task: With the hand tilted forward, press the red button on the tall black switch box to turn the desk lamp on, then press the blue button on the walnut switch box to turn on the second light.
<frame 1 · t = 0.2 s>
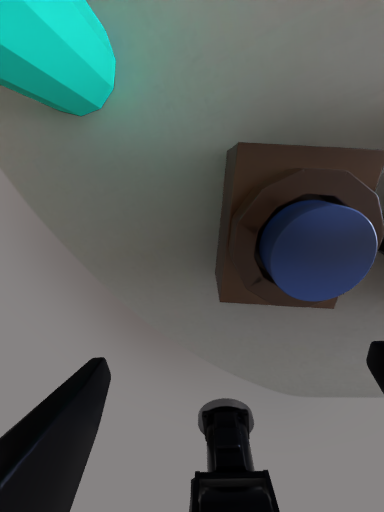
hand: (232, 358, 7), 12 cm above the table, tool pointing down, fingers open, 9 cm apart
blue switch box: (269, 220, 17), on the table
candle: (72, 64, 14), on the table
blue button: (311, 250, 11), point 7 cm above the table, slide at 0.1 cm
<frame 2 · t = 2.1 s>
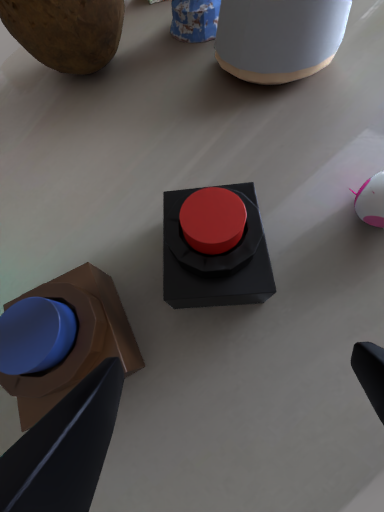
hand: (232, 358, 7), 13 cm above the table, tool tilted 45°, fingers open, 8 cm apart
switch box: (213, 255, 23), on the table
bowl: (90, 68, 41), on the table
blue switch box: (90, 337, 21), on the table
desk lamp: (270, 63, 36), on the table
lantern: (200, 27, 43), on the table
stress ball: (370, 210, 24), on the table
light button: (212, 220, 17), point 7 cm above the table, slide at 0.1 cm
blue button: (36, 333, 15), point 7 cm above the table, slide at 0.1 cm
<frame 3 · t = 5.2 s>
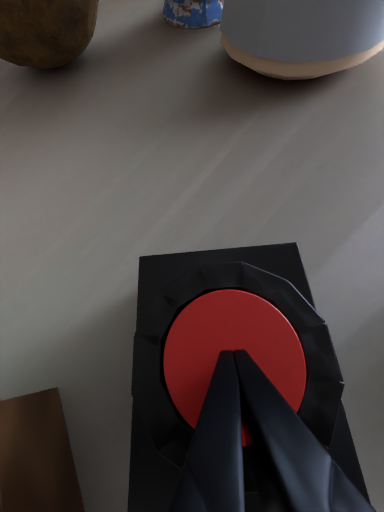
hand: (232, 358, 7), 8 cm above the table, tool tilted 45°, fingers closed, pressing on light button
switch box: (224, 352, 14), on the table
bowl: (60, 61, 32), on the table
desk lamp: (293, 51, 27), on the table
lantern: (200, 10, 34), on the table
light button: (230, 356, 9), point 6 cm above the table, slide at -0.8 cm, touching gripper
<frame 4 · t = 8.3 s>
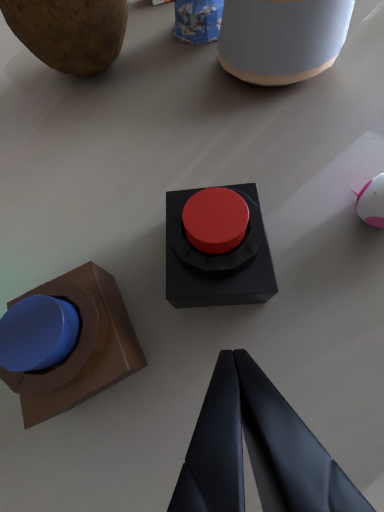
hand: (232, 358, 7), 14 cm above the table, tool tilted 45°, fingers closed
switch box: (215, 255, 24), on the table
bowl: (93, 69, 41), on the table
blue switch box: (92, 336, 21), on the table
desk lamp: (272, 64, 36), on the table
lantern: (203, 28, 43), on the table
stress ball: (372, 211, 24), on the table
light button: (215, 220, 17), point 7 cm above the table, slide at 0.1 cm
blue button: (39, 331, 15), point 7 cm above the table, slide at 0.1 cm
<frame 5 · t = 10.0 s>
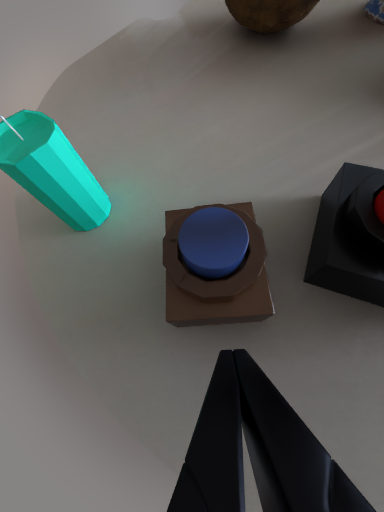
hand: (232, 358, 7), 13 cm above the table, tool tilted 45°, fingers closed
switch box: (360, 247, 22), on the table
bowl: (266, 29, 40), on the table
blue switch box: (213, 273, 22), on the table
candle: (89, 211, 27), on the table
blue button: (212, 242, 15), point 7 cm above the table, slide at 0.1 cm
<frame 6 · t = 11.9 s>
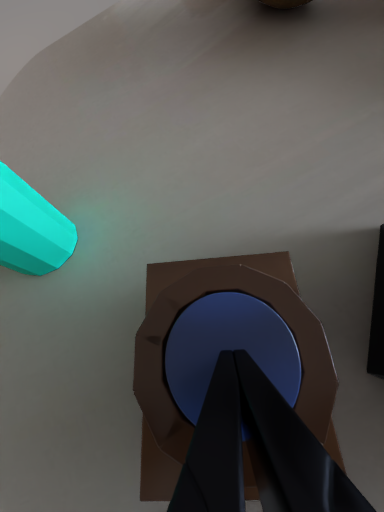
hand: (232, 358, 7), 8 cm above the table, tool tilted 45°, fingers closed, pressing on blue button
bowl: (283, 5, 32), on the table
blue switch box: (223, 352, 14), on the table
candle: (47, 245, 19), on the table
blue button: (229, 356, 9), point 6 cm above the table, slide at -0.7 cm, touching gripper
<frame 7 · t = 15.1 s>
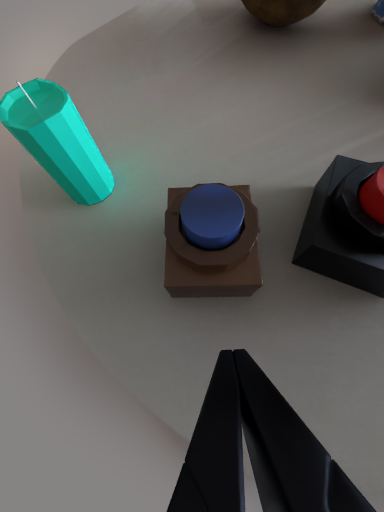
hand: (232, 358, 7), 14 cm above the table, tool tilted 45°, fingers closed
switch box: (345, 235, 23), on the table
bowl: (275, 21, 40), on the table
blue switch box: (209, 251, 23), on the table
candle: (92, 186, 28), on the table
blue button: (211, 216, 17), point 7 cm above the table, slide at 0.1 cm
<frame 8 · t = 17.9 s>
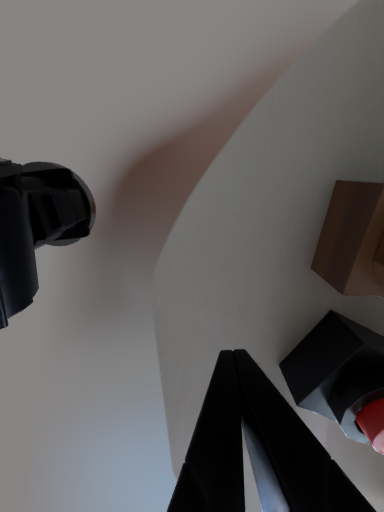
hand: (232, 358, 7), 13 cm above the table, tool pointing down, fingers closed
switch box: (340, 356, 25), on the table
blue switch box: (377, 230, 19), on the table
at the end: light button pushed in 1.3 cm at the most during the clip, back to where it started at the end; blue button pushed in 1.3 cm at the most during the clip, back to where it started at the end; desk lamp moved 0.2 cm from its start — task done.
